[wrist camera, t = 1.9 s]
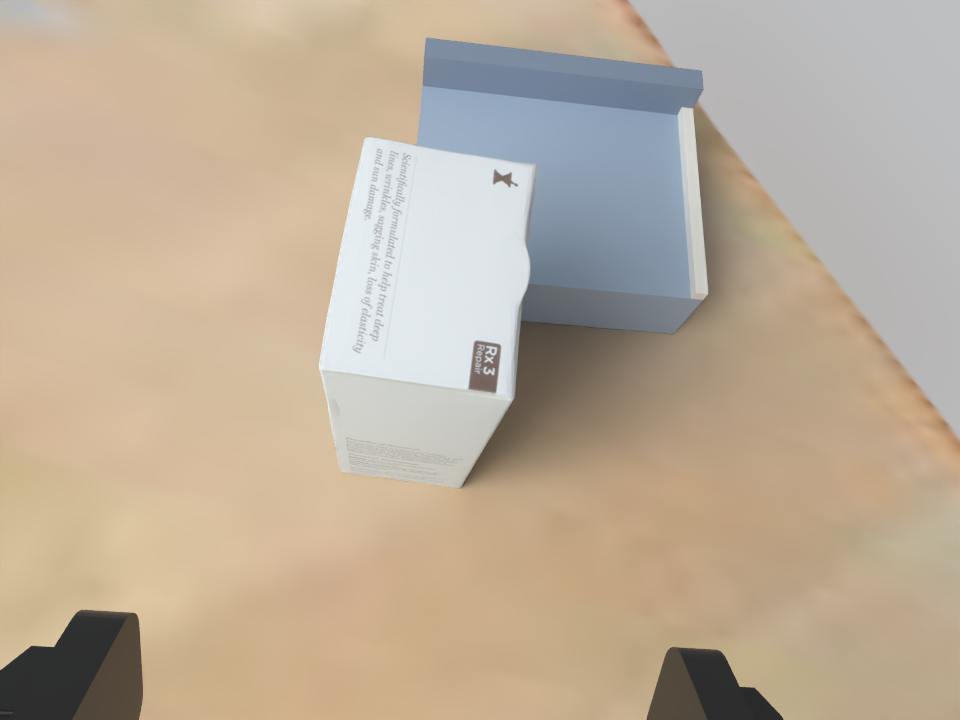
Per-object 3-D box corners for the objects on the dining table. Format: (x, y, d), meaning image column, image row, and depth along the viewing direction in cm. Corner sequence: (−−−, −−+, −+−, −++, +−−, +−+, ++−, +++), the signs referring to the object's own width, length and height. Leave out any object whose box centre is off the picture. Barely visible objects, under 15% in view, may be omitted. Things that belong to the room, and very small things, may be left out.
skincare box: (368, 319, 37) (355, 118, 23) (487, 336, 37) (543, 149, 24) (338, 484, 34) (302, 364, 20) (469, 501, 34) (522, 395, 20)
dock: (661, 146, 43) (701, 70, 38) (673, 334, 38) (720, 279, 33) (421, 119, 42) (426, 37, 36) (404, 310, 37) (406, 250, 32)
